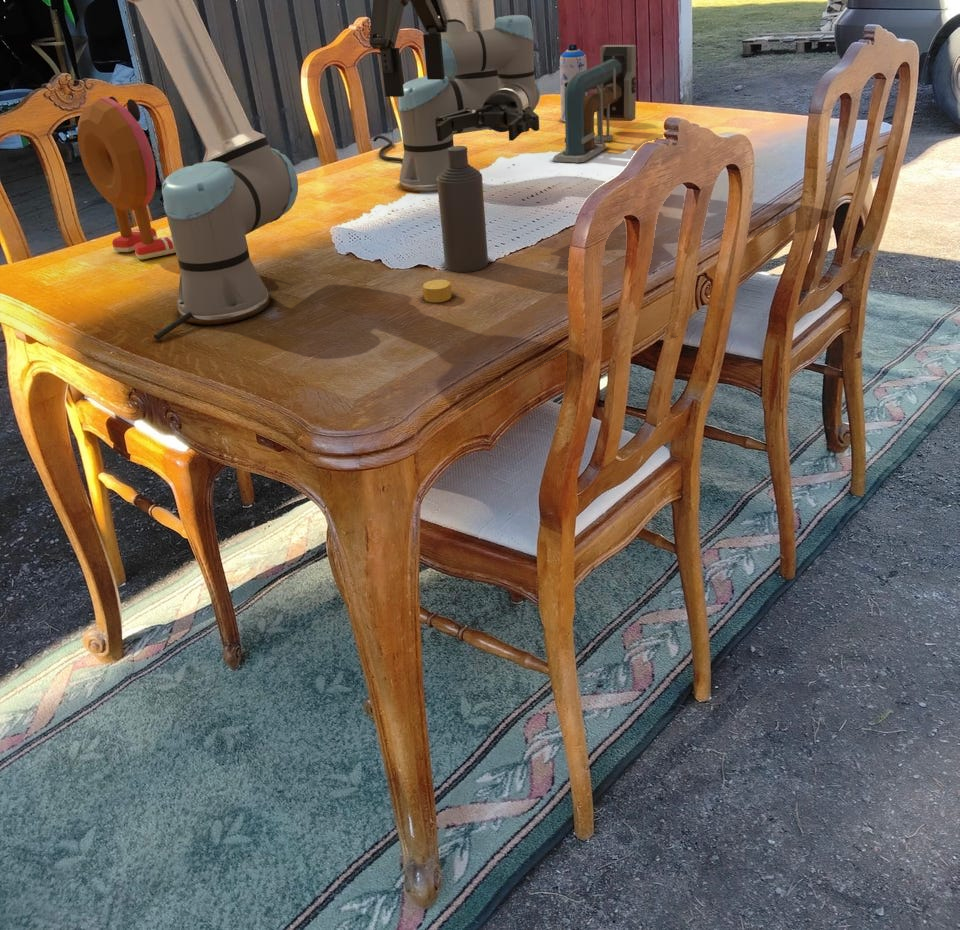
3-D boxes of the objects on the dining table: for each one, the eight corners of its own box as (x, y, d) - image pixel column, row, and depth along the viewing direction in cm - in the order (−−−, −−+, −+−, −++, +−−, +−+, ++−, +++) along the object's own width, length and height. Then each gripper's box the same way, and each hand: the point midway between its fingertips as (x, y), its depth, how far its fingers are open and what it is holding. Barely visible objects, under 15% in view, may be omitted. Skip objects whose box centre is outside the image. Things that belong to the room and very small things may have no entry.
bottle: (496, 261, 177) (489, 144, 166) (469, 274, 172) (459, 155, 161) (463, 255, 181) (454, 141, 171) (436, 268, 176) (424, 151, 166)
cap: (419, 297, 164) (417, 284, 163) (442, 290, 166) (441, 277, 165) (432, 304, 161) (431, 291, 159) (456, 297, 163) (455, 284, 161)
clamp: (583, 162, 234) (581, 68, 223) (550, 161, 238) (547, 68, 227) (635, 130, 260) (635, 44, 249) (604, 129, 263) (604, 45, 253)
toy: (197, 251, 195) (161, 95, 180) (152, 266, 189) (111, 105, 174) (143, 235, 208) (105, 88, 193) (99, 248, 202) (57, 97, 187)
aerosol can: (559, 122, 275) (557, 47, 265) (562, 117, 282) (559, 42, 272) (587, 121, 274) (585, 45, 263) (589, 115, 280) (587, 41, 270)
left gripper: (379, -69, 124) (399, 104, 135) (461, -80, 144) (472, 72, 154) (330, -65, 127) (352, 104, 138) (416, -77, 146) (430, 72, 157)
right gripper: (567, 127, 190) (542, 154, 173) (447, 129, 197) (411, 154, 180) (566, 87, 186) (540, 110, 169) (444, 90, 193) (407, 112, 176)
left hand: (416, 87), depth 146 cm, fingers open, 13 cm apart
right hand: (474, 133), depth 174 cm, fingers open, 13 cm apart
